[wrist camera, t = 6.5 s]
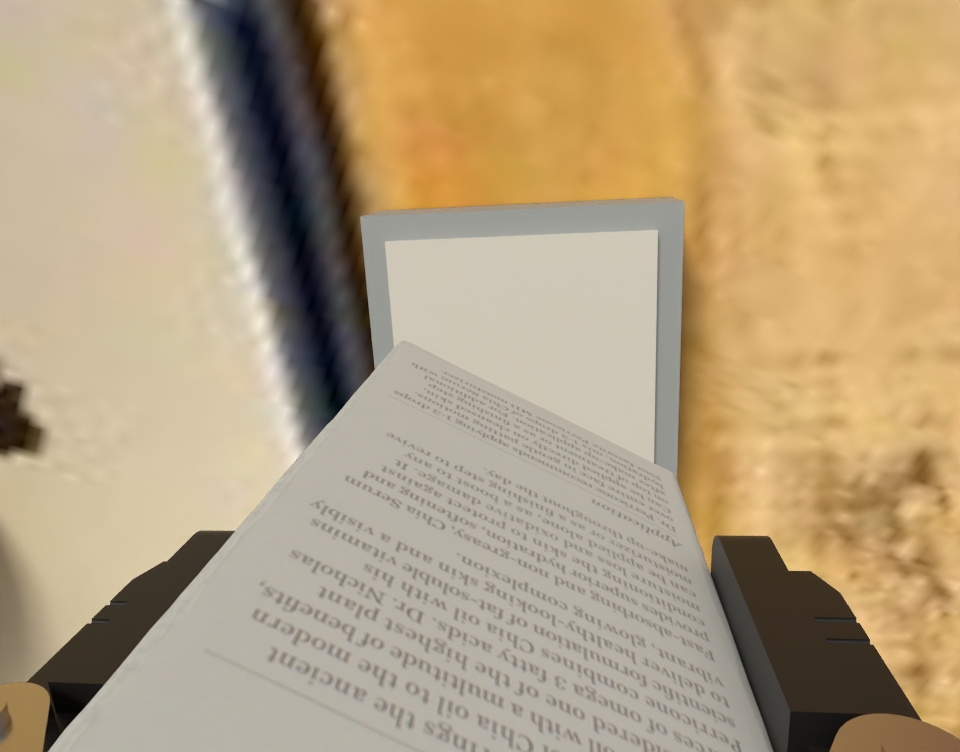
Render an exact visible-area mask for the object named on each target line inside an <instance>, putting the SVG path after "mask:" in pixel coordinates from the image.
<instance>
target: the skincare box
mask: <svg viewBox="0 0 960 752" xmlns="http://www.w3.org/2000/svg"><path fill="white" fill-rule="evenodd" d="M48 752H774V751H773V748H772V746H771V743H770V740H769V737H768V734H767V731H766V728H765V725H764V723H763V720H762V717H761V714H760V712H759V709H758V706H757V703H756V701H755V698H754V695H753V692H752V690H751V687H750V684H749V681H748V678H747V675H746V673H745V670H744V667H743V664H742V661H741V658H740V656H739V653H738V650H737V647H736V644H735V641H734V639H733V636H732V633H731V630H730V627H729V624H728V622H727V619H726V616H725V613H724V610H723V608H722V605H721V602H720V599H719V596H718V594H717V591H716V588H715V585H714V582H713V580H712V577H711V574H710V571H709V569H708V566H707V563H706V560H705V557H704V554H703V551H702V548H701V545H700V543H699V541H698V538H697V535H696V531H695V529H694V526H693V523H692V520H691V517H690V515H689V512H688V509H687V506H686V503H685V501H684V498H683V495H682V493H681V490H680V487H679V484H678V481H677V479H676V477H675V475H674V474H673V473H672V472H671V471H669V470H667V469H665V468H663V467H661V466H659V465H657V464H654V463H652V462H650V461H648V460H646V459H644V458H642V457H640V456H638V455H636V454H634V453H632V452H630V451H628V450H626V449H624V448H622V447H620V446H618V445H616V444H614V443H612V442H610V441H608V440H606V439H604V438H602V437H600V436H598V435H596V434H594V433H592V432H590V431H588V430H586V429H584V428H582V427H580V426H578V425H576V424H574V423H572V422H570V421H568V420H566V419H563V418H561V417H560V416H558V415H556V414H554V413H552V412H550V411H548V410H546V409H543V408H541V407H539V406H537V405H535V404H533V403H531V402H529V401H527V400H525V399H523V398H521V397H519V396H517V395H515V394H513V393H511V392H509V391H507V390H505V389H503V388H501V387H499V386H497V385H495V384H492V383H490V382H488V381H486V380H484V379H482V378H480V377H478V376H476V375H474V374H472V373H470V372H468V371H466V370H464V369H462V368H460V367H458V366H456V365H454V364H452V363H450V362H448V361H446V360H444V359H442V358H440V357H438V356H436V355H434V354H432V353H430V352H428V351H426V350H424V349H422V348H420V347H418V346H416V345H414V344H412V343H410V342H407V341H401V342H399V343H398V344H397V345H396V346H395V347H394V348H393V349H392V351H391V352H390V353H389V354H388V355H387V356H386V357H385V358H384V360H383V361H382V362H381V363H380V364H379V365H378V366H377V368H376V369H375V370H374V372H373V373H372V374H371V375H370V376H369V378H368V379H367V380H366V381H365V382H364V383H363V384H362V385H361V386H360V388H359V389H358V390H357V391H356V392H355V393H354V395H353V396H352V397H351V398H350V399H349V401H348V402H347V403H346V404H345V405H344V407H343V408H342V409H341V410H340V412H339V413H338V414H337V415H336V416H335V418H334V419H333V420H332V421H331V422H329V423H328V424H327V426H326V427H325V428H324V429H323V430H322V431H321V432H320V434H319V435H318V436H317V437H316V438H315V439H314V440H313V442H312V443H311V444H310V445H309V446H308V447H307V448H306V450H305V451H304V452H303V453H302V454H301V455H300V456H299V458H298V459H297V460H296V461H295V462H294V463H293V465H292V466H291V467H290V468H289V469H288V470H287V472H286V473H285V474H284V475H283V476H282V477H281V479H280V480H279V481H278V482H277V483H276V484H275V485H274V487H273V488H272V489H271V490H270V491H269V493H268V494H267V495H266V496H265V497H264V499H263V500H262V501H261V502H260V503H259V504H258V506H257V507H256V508H255V509H254V510H253V511H252V513H251V514H250V515H249V516H248V517H247V518H246V519H245V520H244V522H243V523H242V524H241V525H240V526H239V527H238V528H237V530H236V531H235V532H234V533H233V534H232V536H231V537H230V538H229V539H228V540H227V542H226V543H225V544H224V545H223V546H222V548H221V549H220V550H219V551H218V552H217V553H216V554H215V556H214V557H213V558H212V559H211V560H210V561H209V562H208V563H207V565H206V566H205V567H204V568H203V569H202V571H201V572H200V573H199V574H198V575H197V576H196V578H195V579H194V580H193V581H192V582H191V583H190V584H189V585H188V587H187V588H186V589H185V590H184V591H183V592H182V593H181V594H180V596H179V597H178V598H177V599H176V601H175V602H174V603H173V605H172V606H171V607H170V608H169V609H168V610H167V611H166V612H165V614H164V615H163V616H162V617H161V618H160V619H159V620H158V621H157V622H156V624H155V625H154V626H153V627H152V628H151V629H150V630H149V632H148V633H147V634H146V635H145V636H144V638H143V639H142V640H141V641H140V642H139V644H138V645H137V646H136V647H135V649H134V650H133V651H132V652H131V653H130V655H129V656H128V657H127V658H126V659H125V661H124V662H123V663H122V664H121V666H120V667H119V668H118V669H117V670H116V672H115V673H114V674H113V675H112V676H111V677H110V679H109V680H108V681H107V682H106V683H105V685H104V686H103V687H102V688H101V689H100V690H99V692H98V693H97V694H96V695H95V696H94V697H93V699H92V700H91V701H90V702H89V703H88V704H87V706H86V707H85V708H84V709H83V710H82V711H81V712H80V713H79V714H78V716H77V717H76V718H75V719H74V720H73V721H72V722H71V723H70V724H69V726H68V727H67V728H66V729H65V730H64V732H63V733H62V734H61V735H60V737H59V738H58V739H57V741H56V742H55V743H54V745H53V746H52V747H51V748H50V750H49V751H48Z"/></svg>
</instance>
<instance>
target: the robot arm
mask: <svg viewBox="0 0 960 752" xmlns="http://www.w3.org/2000/svg"><path fill="white" fill-rule="evenodd" d="M234 532H235V531H199V532H197V533H195V534H194V535H193V536H192V537H191V538H190V539H189V540H188V541H187V542H186V543H185V544H184V545H183V546H182V547H181V548H180V549H179V550H178V551H177V552H176V553H175V554H174V555H173V556H172V557H171V558H170V559H169V560H168V561H167V562H162V563H160V564H159V565H157V566H155V567H153V568H152V569H150V570H148V571H147V572H145V573H143V574H141V575H140V576H138V577H136V578H134V579H133V580H132V581H131V582H130V583H129V584H127V585H126V586H125V587H124V588H123V589H122V590H121V591H120V592H119V593H118V594H117V595H116V596H115V597H114V598H113V599H112V600H111V601H110V605H106V606H105V607H104V608H103V609H102V610H101V611H100V612H99V613H98V614H97V615H95V616H94V617H93V618H92V623H91V624H86V625H85V626H84V627H83V628H82V629H81V630H80V631H79V632H78V633H77V634H76V635H75V636H74V637H73V638H72V639H71V640H70V641H69V642H68V643H67V644H66V645H65V646H63V647H62V648H61V649H60V650H59V651H58V652H57V653H56V654H55V655H54V656H53V657H52V658H51V659H50V660H49V661H48V662H47V663H46V664H45V665H44V666H43V667H42V668H41V669H40V670H39V671H38V672H37V673H36V674H35V675H34V676H33V677H31V678H30V679H29V680H28V681H27V682H16V683H7V684H1V685H0V752H48V751H49V750H50V748H51V747H52V746H53V745H54V743H55V742H56V741H57V739H58V738H59V737H60V735H61V734H62V733H63V732H64V730H65V729H66V728H67V727H68V726H69V724H70V723H71V722H72V721H73V720H74V719H75V718H76V717H77V716H78V714H79V713H80V712H81V711H82V710H83V709H84V708H85V707H86V706H87V704H88V703H89V702H90V701H91V700H92V699H93V697H94V696H95V695H96V694H97V693H98V692H99V690H100V689H101V688H102V687H103V686H104V685H105V683H106V682H107V681H108V680H109V679H110V677H111V676H112V675H113V674H114V673H115V672H116V670H117V669H118V668H119V667H120V666H121V664H122V663H123V662H124V661H125V659H126V658H127V657H128V656H129V655H130V653H131V652H132V651H133V650H134V649H135V647H136V646H137V645H138V644H139V642H140V641H141V640H142V639H143V638H144V636H145V635H146V634H147V633H148V632H149V630H150V629H151V628H152V627H153V626H154V625H155V624H156V622H157V621H158V620H159V619H160V618H161V617H162V616H163V615H164V614H165V612H166V611H167V610H168V609H169V608H170V607H171V606H172V605H173V603H174V602H175V601H176V599H177V598H178V597H179V596H180V594H181V593H182V592H183V591H184V590H185V589H186V588H187V587H188V585H189V584H190V583H191V582H192V581H193V580H194V579H195V578H196V576H197V575H198V574H199V573H200V572H201V571H202V569H203V568H204V567H205V566H206V565H207V563H208V562H209V561H210V560H211V559H212V558H213V557H214V556H215V554H216V553H217V552H218V551H219V550H220V549H221V548H222V546H223V545H224V544H225V543H226V542H227V540H228V539H229V538H230V537H231V536H232V534H233V533H234ZM711 577H712V580H713V582H714V585H715V588H716V591H717V594H718V596H719V599H720V602H721V605H722V608H723V610H724V613H725V616H726V619H727V622H728V624H729V627H730V630H731V633H732V636H733V639H734V641H735V644H736V647H737V650H738V653H739V656H740V658H741V661H742V664H743V667H744V670H745V673H746V675H747V678H748V681H749V684H750V687H751V690H752V692H753V695H754V698H755V701H756V703H757V706H758V709H759V712H760V714H761V717H762V720H763V723H764V725H765V728H766V731H767V734H768V737H769V740H770V743H771V746H772V748H773V751H774V752H960V740H959V739H958V738H956V737H955V736H953V735H952V734H950V733H948V732H946V731H944V730H942V729H940V728H938V727H936V726H933V725H931V724H929V723H926V722H923V721H921V719H920V717H919V716H918V714H917V713H916V711H915V710H914V708H913V706H912V705H911V703H910V702H909V700H908V699H907V697H906V695H905V694H904V692H903V691H902V689H901V688H900V686H899V684H898V683H897V681H896V680H895V678H894V677H893V675H892V673H891V672H890V670H889V669H888V667H887V666H886V664H885V663H884V661H883V659H882V658H881V656H880V655H879V653H878V652H877V650H876V648H875V647H874V645H870V639H869V637H868V636H867V634H866V633H865V631H864V630H863V628H862V626H861V625H860V623H857V622H856V617H855V616H854V614H853V612H852V611H851V609H850V608H849V606H848V605H847V603H846V601H845V600H844V598H843V597H842V595H841V594H840V592H838V591H837V590H836V589H834V588H833V587H831V586H830V585H829V584H827V583H826V582H825V581H823V580H822V579H821V578H819V577H818V576H817V575H815V574H814V573H812V572H811V571H788V569H787V567H786V565H785V564H784V562H783V560H782V558H781V556H780V554H779V553H778V551H777V549H776V547H775V545H774V543H773V542H772V540H771V538H770V537H768V536H715V538H714V540H713V545H712V560H711Z"/></svg>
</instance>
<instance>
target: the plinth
mask: <svg viewBox="0 0 960 752" xmlns="http://www.w3.org/2000/svg"><path fill="white" fill-rule="evenodd" d="M684 203H685V202H684V201H681V200H678V199H675V198H672V197H661V198H640V199H619V200H598V201H577V202H556V203H535V204H514V205H493V206H472V207H451V208H430V209H409V210H388V211H380V212H376V213H373V214H369V215H365V216H361V217H360V220H361V231H362V241H363V251H364V262H365V272H366V282H367V293H368V303H369V313H370V324H371V334H372V344H373V355H374V365H375V369H376V368H377V366H378V365H379V364H380V363H381V362H382V361H383V360H384V358H385V357H386V356H387V355H388V354H389V353H390V352H391V351H392V349H393V348H394V347H395V346H396V345H397V344H398V343H399V342H401V341H407V342H410V343H412V344H414V345H416V346H418V347H420V348H422V349H424V350H426V351H428V352H430V353H432V354H434V355H436V356H438V357H440V358H442V359H444V360H446V361H448V362H450V363H452V364H454V365H456V366H458V367H460V368H462V369H464V370H466V371H468V372H470V373H472V374H474V375H476V376H478V377H480V378H482V379H484V380H486V381H488V382H490V383H492V384H495V385H497V386H499V387H501V388H503V389H505V390H507V391H509V392H511V393H513V394H515V395H517V396H519V397H521V398H523V399H525V400H527V401H529V402H531V403H533V404H535V405H537V406H539V407H541V408H543V409H546V410H548V411H550V412H552V413H554V414H556V415H558V416H560V417H561V418H563V419H566V420H568V421H570V422H572V423H574V424H576V425H578V426H580V427H582V428H584V429H586V430H588V431H590V432H592V433H594V434H596V435H598V436H600V437H602V438H604V439H606V440H608V441H610V442H612V443H614V444H616V445H618V446H620V447H622V448H624V449H626V450H628V451H630V452H632V453H634V454H636V455H638V456H640V457H642V458H644V459H646V460H648V461H650V462H652V463H654V464H657V465H659V466H661V467H663V468H665V469H667V470H669V471H671V472H672V473H673V474H674V475H675V477H676V479H677V462H678V425H679V388H680V351H681V314H682V277H683V240H684Z"/></svg>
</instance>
